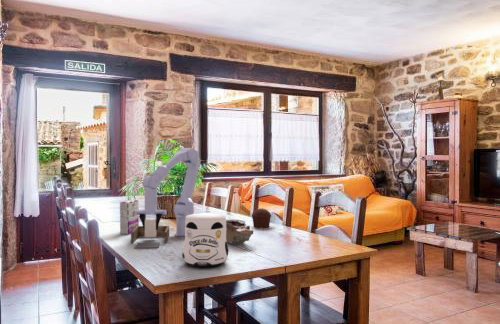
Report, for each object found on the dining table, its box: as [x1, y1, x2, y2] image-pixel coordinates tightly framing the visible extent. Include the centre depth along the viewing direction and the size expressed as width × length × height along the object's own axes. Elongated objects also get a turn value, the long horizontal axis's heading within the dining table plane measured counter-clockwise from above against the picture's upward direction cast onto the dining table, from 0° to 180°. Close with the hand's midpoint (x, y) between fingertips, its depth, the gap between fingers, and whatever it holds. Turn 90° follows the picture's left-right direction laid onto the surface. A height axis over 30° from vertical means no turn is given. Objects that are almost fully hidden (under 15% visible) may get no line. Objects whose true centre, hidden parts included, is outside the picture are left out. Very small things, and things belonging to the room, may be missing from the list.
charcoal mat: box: [134, 241, 161, 250], centre depth 177 cm, size 10×9×1 cm
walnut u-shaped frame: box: [130, 225, 170, 245], centre depth 190 cm, size 16×16×5 cm
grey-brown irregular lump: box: [226, 219, 254, 244], centre depth 186 cm, size 13×20×10 cm, turn 25°
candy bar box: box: [119, 199, 140, 235], centre depth 206 cm, size 11×5×16 cm, turn 168°
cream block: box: [144, 217, 157, 238], centre depth 188 cm, size 5×5×8 cm
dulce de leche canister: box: [182, 212, 229, 268], centre depth 151 cm, size 17×17×18 cm
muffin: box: [251, 208, 272, 229], centre depth 225 cm, size 12×11×10 cm
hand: (150, 229), depth 188 cm, fingers closed on cream block, 5 cm apart
